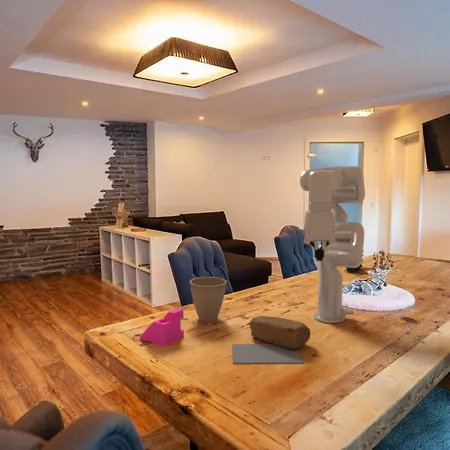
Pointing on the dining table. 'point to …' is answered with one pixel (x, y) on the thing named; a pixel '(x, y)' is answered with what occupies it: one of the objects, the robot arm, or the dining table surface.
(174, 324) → the bracket
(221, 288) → the plant pot
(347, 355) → the dining table surface
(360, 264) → the toy figurine
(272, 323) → the block
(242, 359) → the mat
